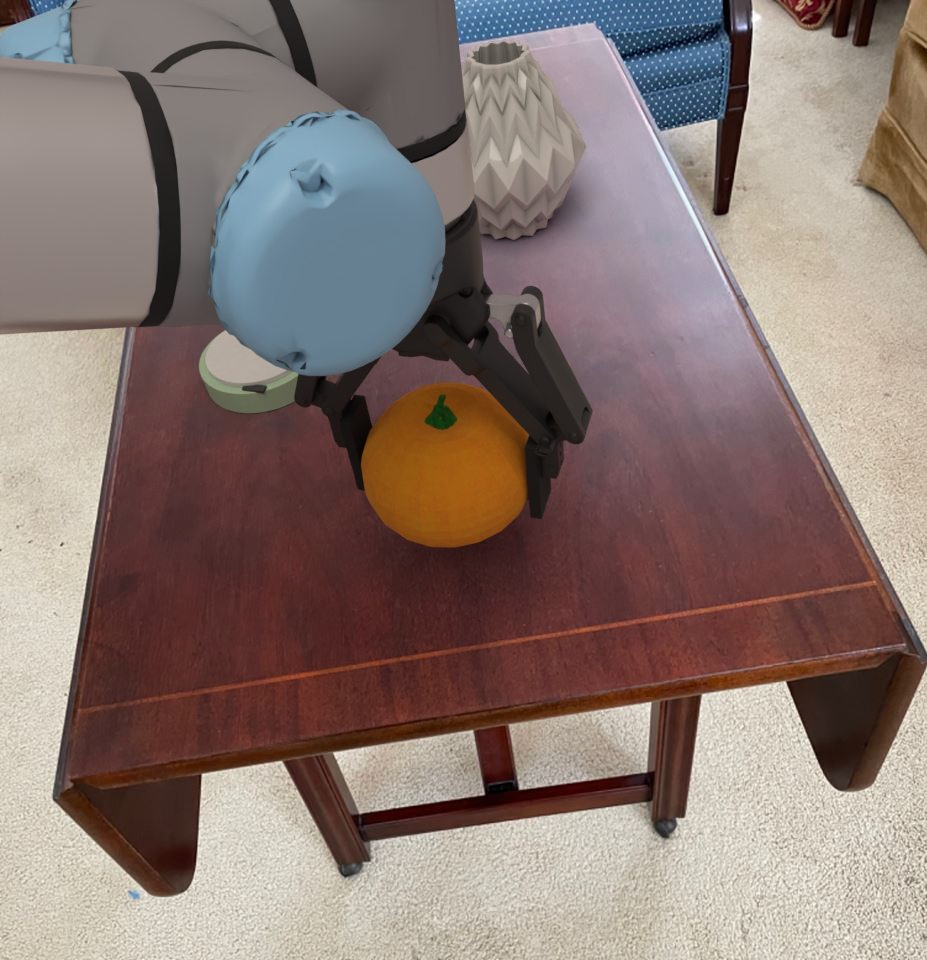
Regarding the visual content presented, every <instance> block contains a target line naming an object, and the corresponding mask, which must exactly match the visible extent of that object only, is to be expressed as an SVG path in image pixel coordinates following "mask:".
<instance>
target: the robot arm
mask: <svg viewBox="0 0 927 960" xmlns="http://www.w3.org/2000/svg"><path fill="white" fill-rule="evenodd" d="M460 50H461V49H460V40H459V30H458V20H457V10H456V1H455V0H65V1H64V2H63V3H62V4H61V5H60V6H58V7H55V8H53V9H51V10H48V11H46V12H42V13H40V14H37V15H35V16H32V17H30V18H28V19H25V20H23V21H20V22H17V23H15V24H12V25H10V26H8V27H6V28H4V30H2V32H1V33H0V335H19V334H35V333H53V332H54V333H55V332H70V331H71V332H72V331H89V330H104V329H105V330H106V329H124V328H125V329H126V328H151V327H152V328H153V327H154V328H156V327H157V328H158V327H159V328H179V327H195V326H213V325H222V327H223V329H224V331H225V330H226V331H227V332H228V334H230V335H233V336H235V337H236V339H237V340H238V341H239V342H240V344H242V345H243V346H245V347H247V348H249V349H251V350H252V351H253V352H254V353H255V354H256V355H258V356H259V357H261V358H263V359H264V360H266V361H268V362H269V363H271V364H272V365H274V366H277V367H279V368H282V369H285V370H288V371H293V372H296V373H298V378H297V384H296V389H295V394H294V400H295V401H294V403H296V405H298V406H300V407H301V408H304V409H305V408H306V409H307V408H310V407H311V406H314V407H317V408H319V409H321V412H322V414H323V415H324V416H326V417H327V420H328V423H329V426H330V431H331V432H332V437H333V440H334V443H335V444H336V445H337V446H338V448H342V449H346V452H347V455H348V459H349V463H350V466H351V467H350V468H351V470H352V473H353V477H354V480H355V481H354V482H355V484H356V488H357V490H359V491H364V492H365V488H364V482H363V475H362V469H361V460H362V454H363V450H364V447H365V443H366V440H367V437H368V434H369V432H370V430H371V428H372V427H373V424H372V420H371V415H370V412H369V408H368V403H367V398H366V396H365V395H361V394H356V392H357V391H358V390H359V388H360V387H361V385H362V384H363V382H364V381H365V379H366V378H367V377H368V375H369V374H370V373H371V371H372V370H373V368H374V367H375V365H377V364H378V362H379V361H380V359H382V357H383V356H384V355H386V354H387V353H389V352H390V351H391V350H393V351H395V352H397V353H398V356H399V357H404V358H416V357H417V358H418V357H425V358H429V359H431V360H433V361H439V362H440V361H442V362H448V363H449V361H451V362H453V363H454V365H455V366H456V367H457V368H458V369H459V370H460V371H461V372H462V374H464V375H465V376H468V377H470V376H473V377H474V378H475V379H476V380H477V381H478V383H480V384H481V385H482V386H483V387H484V389H485V390H486V391H488V392H490V393H491V395H492V396H493V397H494V398H495V399H496V400H497V401H498V402H499V403H500V404H501V405H502V406H503V407H504V408H505V410H506V411H507V412H508V413H509V414H510V415H511V416H512V417H513V418H514V419H515V420H516V421H517V422H518V423H519V425H520V426H521V427H522V428H523V429H524V430H525V431H526V432H527V433H528V434H529V437H528V440H527V442H526V445H525V460H526V471H527V483H528V494H529V498H528V505H529V516H530V518H531V519H537V520H543V517H544V513H545V510H546V507H547V504H548V501H549V498H550V495H551V492H552V480H551V479H554V480H557V478H558V477H559V475H560V472H561V469H562V467H563V464H564V460H565V450H564V449H565V448H564V447H565V446H564V442H565V441H567V442H568V443H569V444H572V445H580V444H582V443H583V442H584V441H585V438H586V435H587V431H588V429H589V424H590V422H591V419H592V416H593V412H594V411H593V408H592V406H591V404H590V402H589V400H588V398H587V397H586V394H585V393H584V391H583V389H582V387H581V385H580V383H579V381H578V379H577V377H576V375H575V373H574V371H573V370H572V368H571V365H570V363H569V362H568V360H567V358H566V357H565V354H564V352H563V350H562V349H561V347H560V344H559V343H558V341H557V338H556V337H555V335H554V333H553V331H552V329H551V327H550V326H549V324H548V322H547V320H546V313H545V302H544V295H543V292H542V290H541V289H540V288H539V287H537V286H535V285H527V286H525V287H524V288H523V289H522V291H521V293H520V294H519V295H518V294H517V295H516V294H500V293H494V292H493V290H492V288H491V287H490V286H489V285H488V283H487V281H486V278H485V275H484V259H483V257H484V256H483V249H482V248H483V247H482V239H481V233H480V229H479V220H478V211H477V206H476V203H475V201H474V200H473V198H474V178H473V169H472V159H471V150H470V140H469V131H468V122H467V119H466V111H465V98H464V88H463V78H462V68H463V67H462V61H461V59H462V58H461V51H460ZM490 319H493V320H496V321H497V322H499V323H500V325H501V327H502V329H503V331H504V332H503V334H504V337H505V338H507V339H512V340H513V345H514V347H515V350H516V353H517V355H518V357H519V359H520V361H521V362H522V365H521V363H519V361H518V360H517V359H516V358H515V357H514V356H513V354H511V352H509V350H508V349H507V348H506V346H505V345H503V343H502V342H501V340H500V336H499V332H498V330H497V329H496V328H495V326H493V325H492V323H490V321H489V320H490ZM472 341H473V343H472ZM470 343H472V346H471V347H470V346H469V345H470ZM523 366H524V367H523ZM335 375H339V377H338V379H337V380H336V382H333V381H330V380H327V376H335Z"/></svg>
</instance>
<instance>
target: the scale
mask: <svg viewBox="0 0 927 960" xmlns="http://www.w3.org/2000/svg"><path fill="white" fill-rule="evenodd" d="M198 371H199V374H200V377H201V380H202V382H203V384H204V387H205V389H206V391H207V393H208V396H209V397H210V399H211V400H212V401H213V402H214V404H216V405H217V406H218V407H220V408H222V409H224V410H226V411H229V412H232V413H237V414H259V413H260V414H261V413H267V412H271V411H275V410H278V409H281V408H284V407H286V406H288V405H290V404H293V403H295V400H294V394H295V389H296V384H297V378H298V373H296V372H293V371H288V370H285V369H282V368H279V367H277V366H274V365H272V364H271V363H269V362H268V361H266V360H264V359H263V358H261V357H259V356H258V355H256V354H255V353H254V352H253V351H252V350H251V349H249V348H247V347H245V346H243V345H242V344H240V342H239V341H238V340H237V339H236V337H235V336H233V335H230V334H228V332H227V331H226V330H225V329H224V330H223V331H222V332H220V333H219V334H218V335H216V336H215V337H214V338H213V339H212V340H211V341H210V342H209V343H208V344H207V345H206V347H205V348H204V349H203V351H202V353H201V355H200V358H199V361H198Z"/></svg>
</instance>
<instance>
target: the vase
mask: <svg viewBox="0 0 927 960" xmlns="http://www.w3.org/2000/svg"><path fill="white" fill-rule="evenodd" d="M464 62H465V63H464V66H463V67H461V68H462V78H463V88H464V98H465V111H466V119H467V122H468V131H469V140H470V150H471V159H472V169H473V178H474V198H473V200H474V201H475V203H476V206H477V211H478V220H479V229H480V235H491V237H492V238H493V239H494V240H499V239H502V238H507V239H510V240H512V241H516V240H517V239H519V238H520V237H522V236H529V237H533V236H534V234H535V233H536V232H537V230H540V229H546V228H548V220H551V218H553V217H554V211H555V210H557V209H559V208H560V207H562V204H563V202H564V200H565V198H566V196H567V194H568V192H569V189H570V187H571V185H572V183H573V180H574V176H575V174H576V172H577V169H578V167H579V164H580V163H581V160H582V158H583V155H584V153H585V152H586V149H587V144H586V142H585V140H584V138H583V136H582V133H581V131H580V127H579V126H578V124H577V122H576V120H575V118H574V116H573V114H572V113H571V112H570V111H569V110H568V109H566V108H565V107H564V106H563V103H562V102H561V99H560V95H559V93H558V90H557V87H556V84H555V83H554V80H553V79H551V77H550V76H549V75H548V74H547V73H545V71H543V69H542V67H541V64H540V61H539V60H537V59H535V58H534V57H533V55H532V51H531V50H530V47H529V44H526V43H525V44H521V43H520V41H519V40H514V41H510V40H507V39H506V38H504V39H502V40H500V41H498V42H497V41H492V40H489V41H488V42H487V43H486V44H485V45H484V44H481V45H480V44H476V46H475V49H474V50H468V51H467V52H466V57H465V59H464Z"/></svg>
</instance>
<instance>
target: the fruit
mask: <svg viewBox="0 0 927 960" xmlns="http://www.w3.org/2000/svg"><path fill="white" fill-rule="evenodd" d="M528 437H529V434H528V433H527V432H526V431H525V430H524V429H523V428H522V427H521V426H520V425H519V423H518V422H517V421H516V420H515V419H514V418H513V417H512V416H511V415H510V414H509V413H508V412H507V411H506V410H505V408H504V407H503V406H502V405H501V404H500V403H499V402H498V401H497V400H496V399H495V398H494V397H493V396H492V395H491V393H490V392H489V391H488V390H487V389H485V388H482V387H479V386H477V385H472V384H468V383H467V384H466V383H463V382H436V383H431V384H426V385H422V386H421V387H418V388H416V389H413V390H411V391H409V392H407V393H404V394H403V395H402V396H400V397H399V398H397V399H396V400H395V401H393V402H392V403H391V404H390V405H389V406H388V407H386V408H385V410H384V411H383V412H382V413H381V415H380V416H379V418H378V419H377V420H376V421H375V423H374V424H373V425H372V428H371V430H370V432H369V434H368V437H367V440H366V443H365V447H364V450H363V454H362V460H361V469H362V475H363V482H364V488H365V491H364V493H365V496H366V498H367V500H368V501H367V502H368V503H369V504H370V506H371V507H372V509H373V510H374V512H375V513H376V515H377V516H378V517H379V519H380V520H381V521H382V523H383V524H384V526H386V527H388V528H389V529H391V530H392V531H394V532H395V533H396V534H398V535H399V536H401V537H402V538H404V539H405V540H407V541H410V542H412V543H415V544H420V545H422V546H425V547H429V548H452V549H453V548H459V547H465V546H468V545H472V544H478V543H480V542H483V541H484V540H487V539H488V538H490V537H493V536H494V535H497V534H498V533H501V532H502V531H503V530H504V529H505V528H507V527H508V526H509V525H510V524H511V523H512V522H513V521H514V520H515V519H516V518H517V517H519V515H520V514H521V512H522V511H523V509H524V508H525V505H526V504H527V502H528V501H529V494H528V483H527V471H526V460H525V445H526V442H527V440H528Z"/></svg>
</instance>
